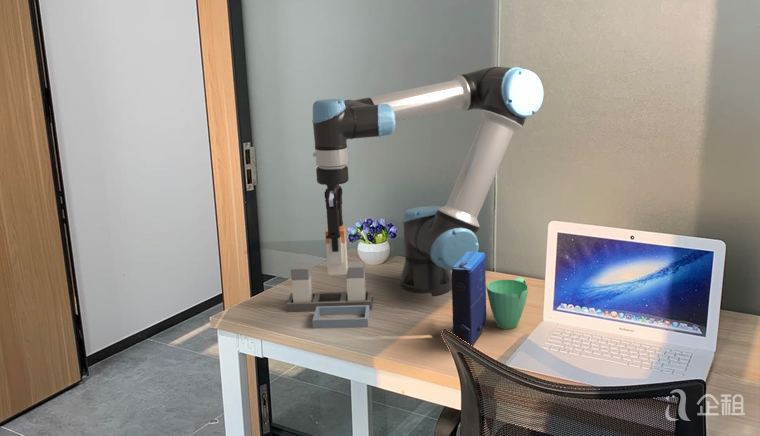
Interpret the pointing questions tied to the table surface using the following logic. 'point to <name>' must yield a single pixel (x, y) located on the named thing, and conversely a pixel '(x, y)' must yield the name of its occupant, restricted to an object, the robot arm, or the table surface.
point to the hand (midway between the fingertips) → (337, 259)
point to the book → (469, 296)
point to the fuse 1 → (301, 282)
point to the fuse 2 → (356, 281)
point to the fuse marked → (342, 268)
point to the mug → (507, 301)
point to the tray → (341, 321)
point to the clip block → (326, 301)
